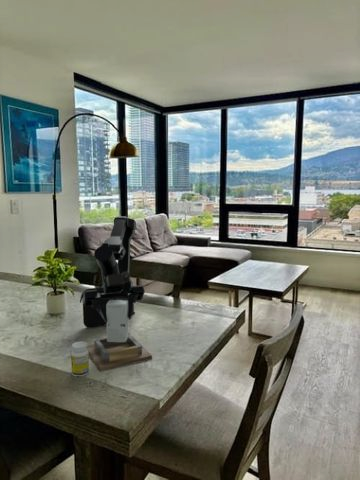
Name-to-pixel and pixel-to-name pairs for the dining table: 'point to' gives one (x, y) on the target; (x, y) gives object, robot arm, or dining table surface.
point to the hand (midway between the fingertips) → (118, 320)
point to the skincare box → (117, 320)
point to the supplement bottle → (80, 359)
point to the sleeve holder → (117, 353)
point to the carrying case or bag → (93, 312)
